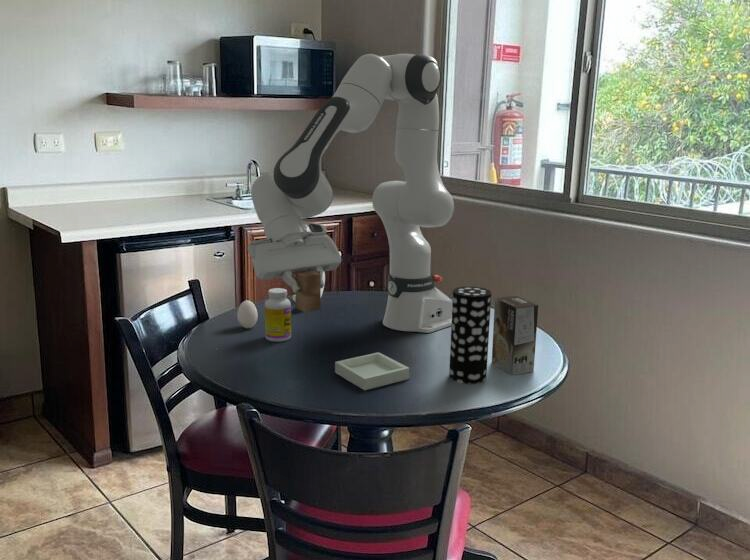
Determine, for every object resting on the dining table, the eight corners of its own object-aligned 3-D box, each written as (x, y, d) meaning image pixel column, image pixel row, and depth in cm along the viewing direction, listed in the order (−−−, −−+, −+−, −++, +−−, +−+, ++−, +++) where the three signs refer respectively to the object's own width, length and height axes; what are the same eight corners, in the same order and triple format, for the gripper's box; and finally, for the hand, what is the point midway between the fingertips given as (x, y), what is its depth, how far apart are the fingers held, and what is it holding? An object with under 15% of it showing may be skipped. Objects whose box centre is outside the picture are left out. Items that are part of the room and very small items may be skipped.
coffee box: (535, 371, 166) (540, 305, 162) (512, 375, 163) (516, 308, 159) (512, 358, 174) (516, 295, 170) (489, 362, 171) (493, 297, 167)
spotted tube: (476, 386, 157) (481, 298, 152) (442, 378, 161) (446, 292, 156) (492, 375, 163) (497, 290, 158) (458, 367, 168) (462, 284, 163)
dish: (378, 362, 170) (378, 352, 169) (409, 378, 160) (409, 368, 160) (335, 372, 163) (335, 361, 162) (364, 390, 154) (364, 379, 153)
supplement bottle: (286, 343, 182) (285, 294, 178) (261, 341, 183) (260, 292, 180) (294, 335, 188) (294, 288, 185) (270, 333, 189) (269, 286, 186)
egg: (239, 324, 196) (238, 297, 194) (259, 324, 196) (258, 297, 194) (236, 331, 191) (235, 303, 189) (256, 331, 191) (256, 303, 189)
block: (311, 305, 160) (311, 270, 158) (320, 309, 157) (320, 274, 155) (295, 307, 158) (295, 272, 156) (304, 312, 155) (304, 276, 153)
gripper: (248, 233, 153) (270, 288, 148) (331, 225, 164) (354, 275, 159) (240, 250, 158) (261, 303, 153) (321, 240, 169) (343, 290, 164)
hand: (309, 289), depth 156 cm, fingers closed on block, 4 cm apart
